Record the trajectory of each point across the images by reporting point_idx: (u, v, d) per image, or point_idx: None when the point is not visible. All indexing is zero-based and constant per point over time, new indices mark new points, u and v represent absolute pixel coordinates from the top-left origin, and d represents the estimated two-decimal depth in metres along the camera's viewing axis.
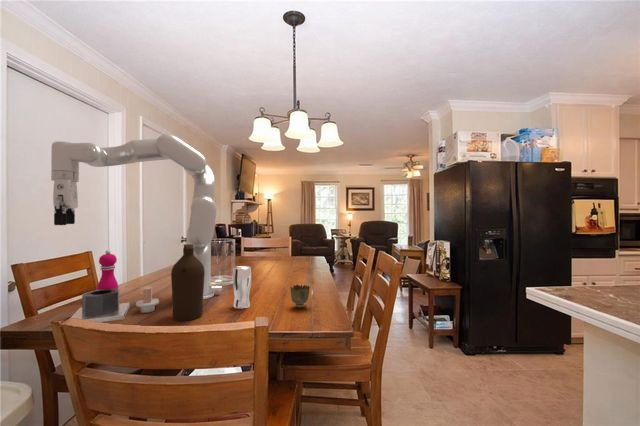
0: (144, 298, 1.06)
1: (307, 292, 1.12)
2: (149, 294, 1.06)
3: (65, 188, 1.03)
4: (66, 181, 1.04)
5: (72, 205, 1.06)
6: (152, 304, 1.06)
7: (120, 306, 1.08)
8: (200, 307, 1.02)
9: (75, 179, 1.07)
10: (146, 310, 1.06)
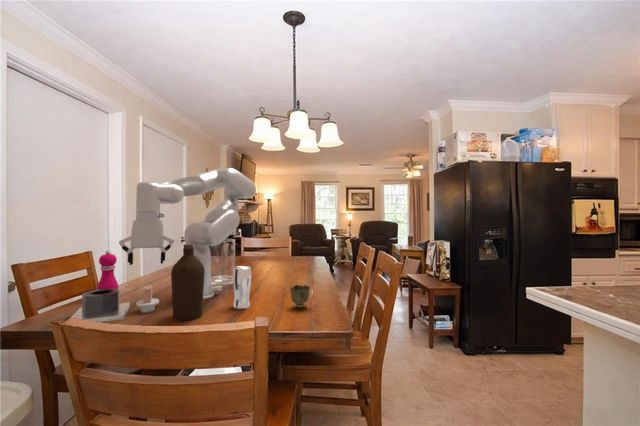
0: (144, 298, 1.06)
1: (307, 292, 1.12)
2: (149, 294, 1.06)
3: None
4: None
5: None
6: (152, 304, 1.06)
7: (120, 306, 1.08)
8: (200, 307, 1.02)
9: None
10: (146, 310, 1.06)
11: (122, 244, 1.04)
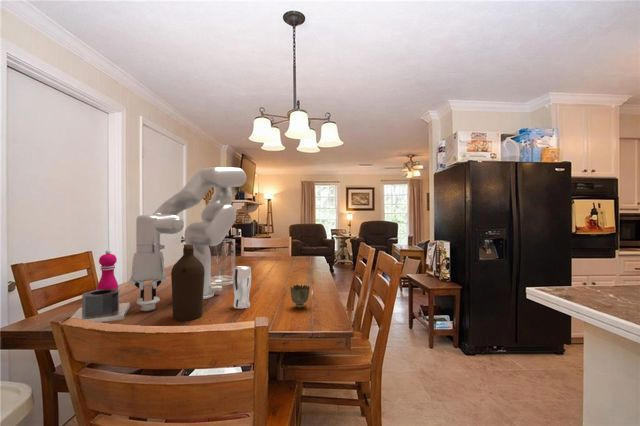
0: (145, 296, 1.06)
1: (307, 292, 1.12)
2: (150, 292, 1.06)
3: (163, 259, 1.12)
4: None
5: None
6: (153, 302, 1.06)
7: (120, 306, 1.08)
8: (200, 307, 1.02)
9: None
10: (147, 308, 1.06)
11: (133, 282, 1.06)
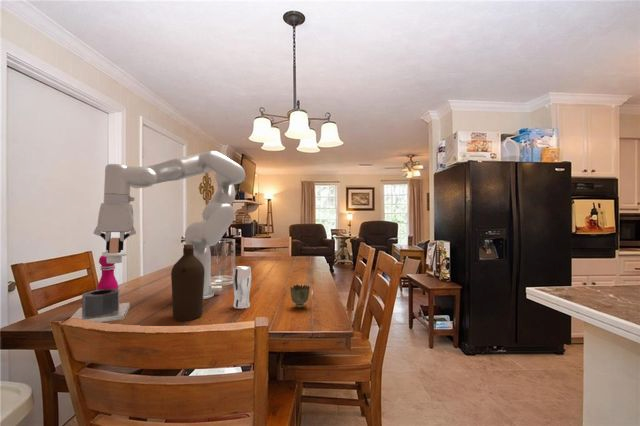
0: (110, 248, 1.01)
1: (307, 292, 1.12)
2: (116, 244, 1.02)
3: None
4: None
5: None
6: (119, 254, 1.02)
7: (120, 306, 1.08)
8: (200, 307, 1.02)
9: None
10: (112, 260, 1.02)
11: (98, 233, 1.01)
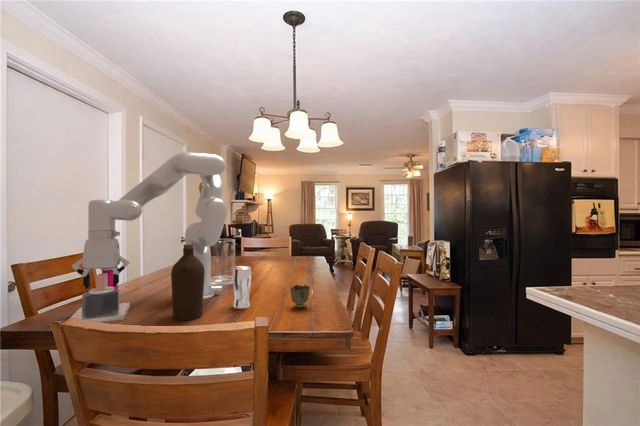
0: (97, 286, 1.00)
1: (307, 292, 1.12)
2: (102, 281, 1.01)
3: None
4: None
5: None
6: (105, 292, 1.01)
7: (120, 306, 1.08)
8: (200, 307, 1.02)
9: None
10: None
11: (76, 267, 0.99)
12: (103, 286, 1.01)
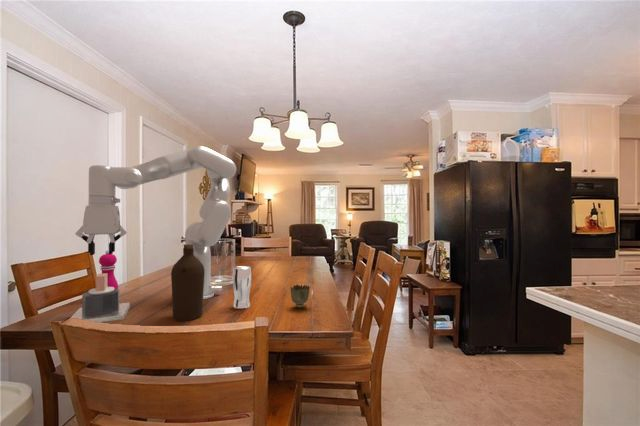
0: (97, 286, 1.00)
1: (307, 292, 1.12)
2: (102, 281, 1.01)
3: (119, 214, 1.06)
4: None
5: None
6: (105, 292, 1.01)
7: (120, 306, 1.08)
8: (200, 307, 1.02)
9: None
10: None
11: (80, 235, 1.00)
12: (103, 286, 1.01)
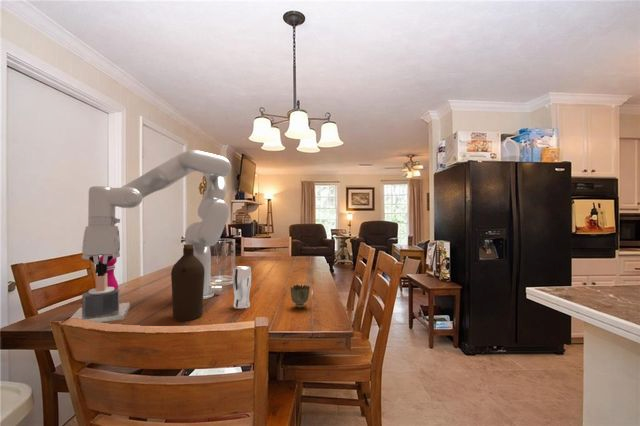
0: (97, 286, 1.00)
1: (307, 292, 1.12)
2: (102, 281, 1.01)
3: None
4: None
5: None
6: (105, 292, 1.01)
7: (120, 306, 1.08)
8: (200, 307, 1.02)
9: None
10: None
11: (87, 257, 1.01)
12: (103, 286, 1.01)
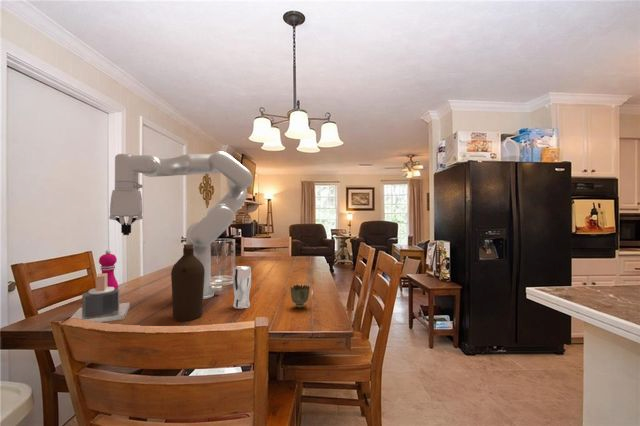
0: (97, 286, 1.00)
1: (307, 292, 1.12)
2: (102, 281, 1.01)
3: (141, 199, 1.17)
4: None
5: None
6: (105, 292, 1.01)
7: (120, 306, 1.08)
8: (200, 307, 1.02)
9: None
10: None
11: (114, 218, 1.11)
12: (103, 286, 1.01)
